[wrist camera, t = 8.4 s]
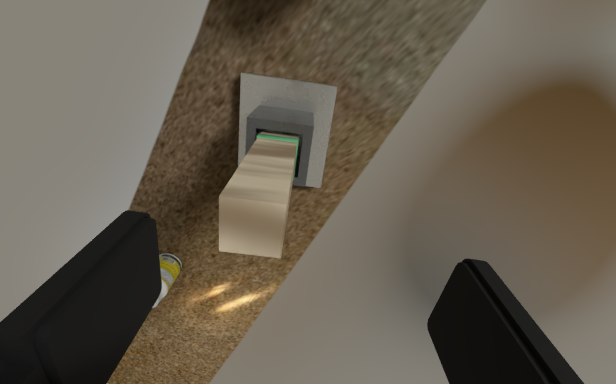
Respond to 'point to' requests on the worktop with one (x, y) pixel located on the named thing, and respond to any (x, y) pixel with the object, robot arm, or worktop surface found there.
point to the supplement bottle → (168, 272)
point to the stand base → (288, 119)
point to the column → (259, 197)
